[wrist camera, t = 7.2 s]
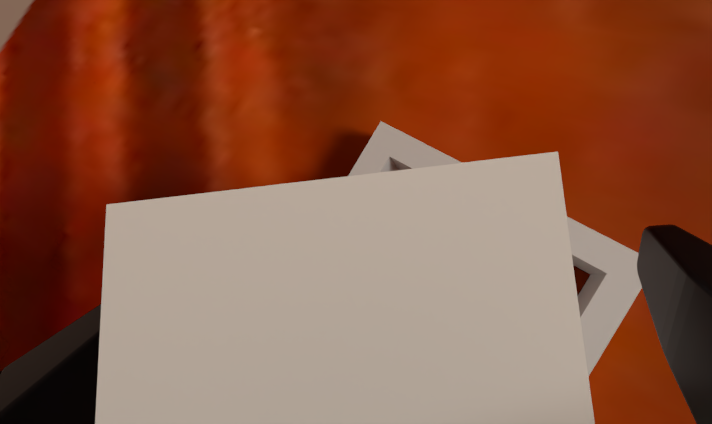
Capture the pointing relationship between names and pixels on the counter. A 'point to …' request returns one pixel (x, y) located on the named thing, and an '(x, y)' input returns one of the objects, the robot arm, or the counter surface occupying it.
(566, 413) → the grey tall block
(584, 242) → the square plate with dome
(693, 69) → the counter surface
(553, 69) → the counter surface
